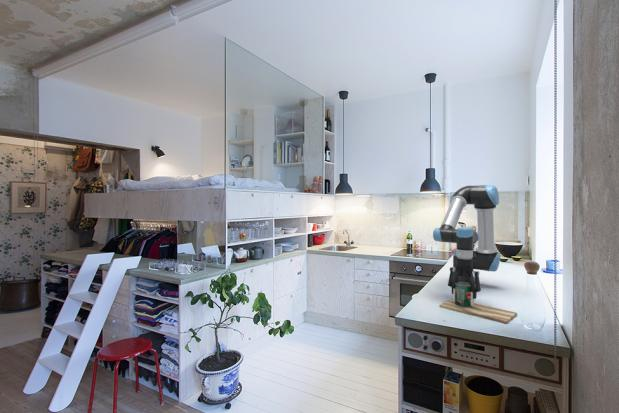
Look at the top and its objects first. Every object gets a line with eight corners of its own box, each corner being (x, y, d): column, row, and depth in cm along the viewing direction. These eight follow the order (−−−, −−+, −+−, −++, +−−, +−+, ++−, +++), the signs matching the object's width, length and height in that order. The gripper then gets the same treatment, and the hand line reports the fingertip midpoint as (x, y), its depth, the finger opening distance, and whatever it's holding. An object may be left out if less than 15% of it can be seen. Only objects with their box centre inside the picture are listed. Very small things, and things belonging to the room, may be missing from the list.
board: (452, 300, 172) (452, 298, 172) (516, 315, 150) (517, 312, 150) (439, 306, 161) (439, 304, 161) (506, 323, 139) (506, 321, 139)
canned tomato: (473, 308, 155) (473, 286, 155) (455, 306, 158) (455, 284, 158) (471, 303, 163) (471, 282, 162) (454, 302, 165) (454, 281, 165)
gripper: (440, 256, 165) (440, 299, 165) (483, 261, 150) (482, 309, 150) (447, 254, 170) (446, 296, 170) (489, 259, 155) (488, 306, 155)
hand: (463, 302), depth 160 cm, fingers closed on canned tomato, 8 cm apart
